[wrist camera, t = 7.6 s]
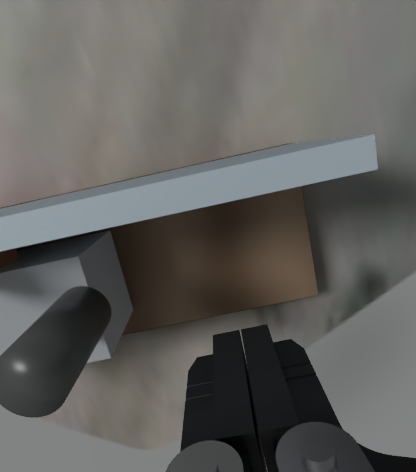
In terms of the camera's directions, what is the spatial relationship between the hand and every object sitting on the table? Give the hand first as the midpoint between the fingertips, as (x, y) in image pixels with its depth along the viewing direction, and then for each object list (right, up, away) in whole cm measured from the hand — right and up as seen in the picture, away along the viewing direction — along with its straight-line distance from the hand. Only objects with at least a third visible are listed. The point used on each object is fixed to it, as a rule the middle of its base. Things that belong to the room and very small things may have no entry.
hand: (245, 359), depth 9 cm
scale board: (-7, +6, +10) cm, 13 cm away
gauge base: (-6, +2, +12) cm, 14 cm away
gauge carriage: (-10, +1, +11) cm, 14 cm away
